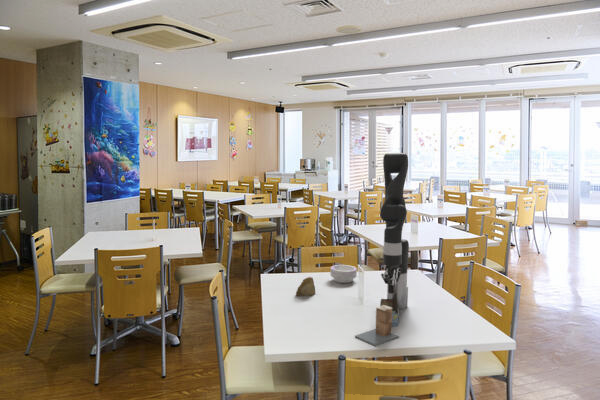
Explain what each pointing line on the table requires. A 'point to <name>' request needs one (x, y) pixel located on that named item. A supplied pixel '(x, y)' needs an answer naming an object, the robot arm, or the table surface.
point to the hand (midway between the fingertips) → (391, 292)
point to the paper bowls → (343, 273)
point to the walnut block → (383, 320)
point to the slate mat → (375, 337)
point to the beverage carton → (394, 306)
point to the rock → (306, 287)
